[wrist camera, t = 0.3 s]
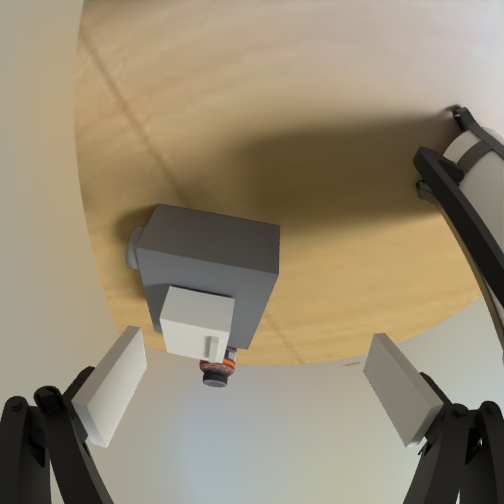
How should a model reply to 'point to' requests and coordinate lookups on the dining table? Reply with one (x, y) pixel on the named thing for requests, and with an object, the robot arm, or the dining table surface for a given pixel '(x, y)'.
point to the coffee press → (472, 203)
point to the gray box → (207, 262)
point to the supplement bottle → (219, 369)
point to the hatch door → (196, 324)
